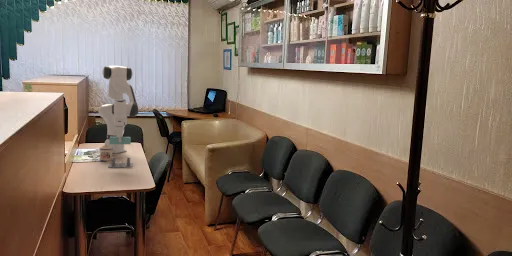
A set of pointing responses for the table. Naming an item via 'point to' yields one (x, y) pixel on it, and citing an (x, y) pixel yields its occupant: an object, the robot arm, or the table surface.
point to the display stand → (120, 164)
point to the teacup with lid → (106, 153)
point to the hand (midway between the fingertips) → (120, 141)
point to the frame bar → (123, 140)
